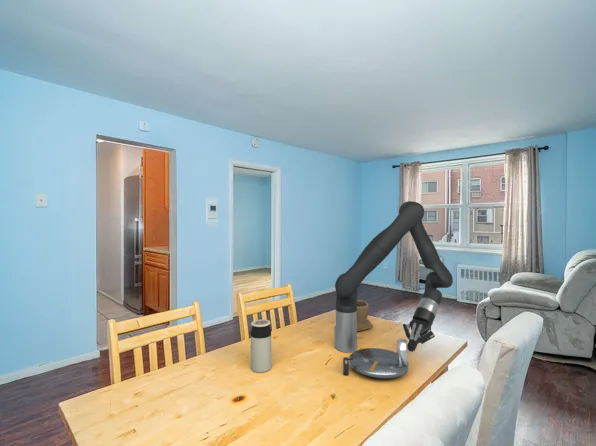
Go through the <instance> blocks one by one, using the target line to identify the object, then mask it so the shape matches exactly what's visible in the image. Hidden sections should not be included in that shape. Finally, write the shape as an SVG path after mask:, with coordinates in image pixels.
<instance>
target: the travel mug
mask: <svg viewBox="0 0 596 446" xmlns="http://www.w3.org/2000/svg"><path fill="white" fill-rule="evenodd" d="M250 324H251V329H250V369H251V370H252V371H253V372H255V373H265V372H268V371H270V370H271V369H272V365H273V364H272V328H270V325H271V321H270V320H269V319H256V320H253V321H251V322H250Z"/></svg>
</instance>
